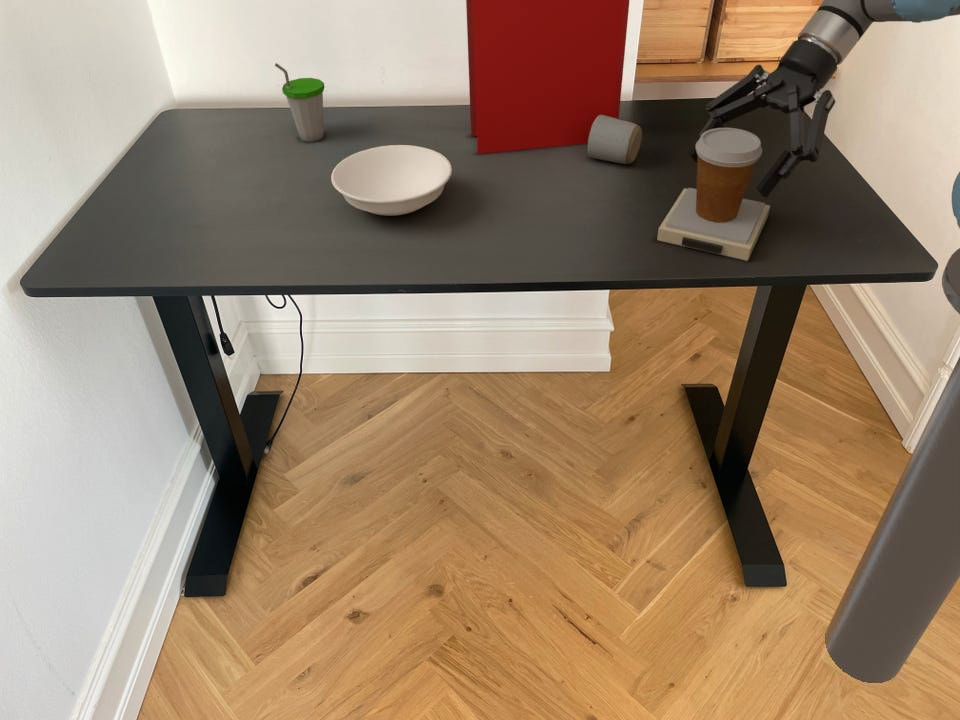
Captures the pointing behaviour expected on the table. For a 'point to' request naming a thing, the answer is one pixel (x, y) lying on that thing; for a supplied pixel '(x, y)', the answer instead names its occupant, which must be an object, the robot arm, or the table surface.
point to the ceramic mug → (614, 140)
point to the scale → (714, 227)
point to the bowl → (392, 178)
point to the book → (543, 70)
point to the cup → (305, 105)
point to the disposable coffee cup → (724, 171)
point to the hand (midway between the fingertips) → (726, 175)
